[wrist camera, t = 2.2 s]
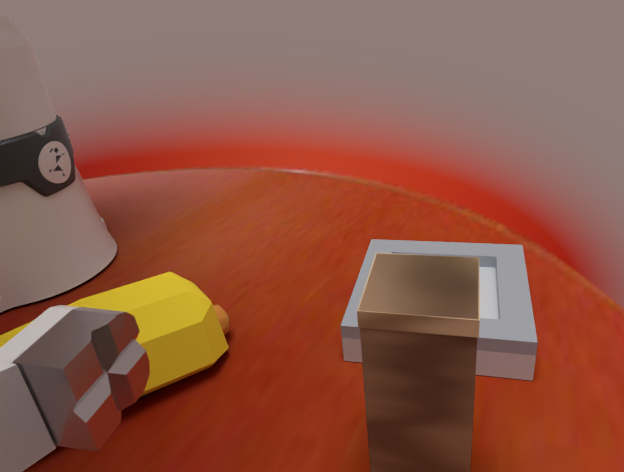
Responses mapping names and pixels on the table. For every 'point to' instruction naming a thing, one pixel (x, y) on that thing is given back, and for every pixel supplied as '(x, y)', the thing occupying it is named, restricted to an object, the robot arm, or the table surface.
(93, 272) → the robot arm
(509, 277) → the plinth base
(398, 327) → the column block
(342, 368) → the table surface
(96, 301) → the hot dog
